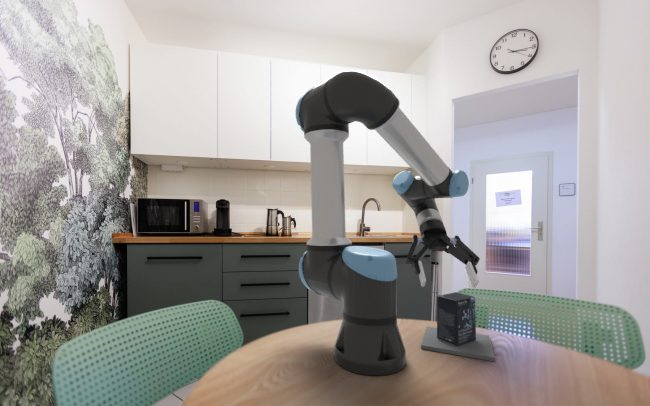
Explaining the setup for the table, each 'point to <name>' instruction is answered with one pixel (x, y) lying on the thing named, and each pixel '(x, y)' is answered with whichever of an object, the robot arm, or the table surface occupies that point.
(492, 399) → the table surface
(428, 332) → the mat
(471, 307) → the box
